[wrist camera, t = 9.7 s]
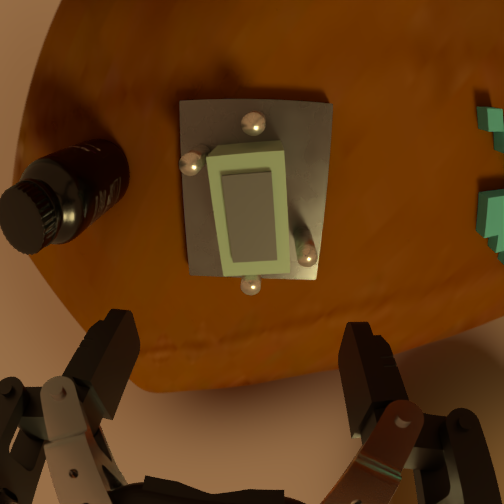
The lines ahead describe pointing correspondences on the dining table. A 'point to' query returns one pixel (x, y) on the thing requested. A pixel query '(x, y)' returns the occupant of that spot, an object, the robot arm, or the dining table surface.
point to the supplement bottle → (63, 195)
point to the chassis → (296, 167)
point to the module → (250, 207)
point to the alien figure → (495, 201)
